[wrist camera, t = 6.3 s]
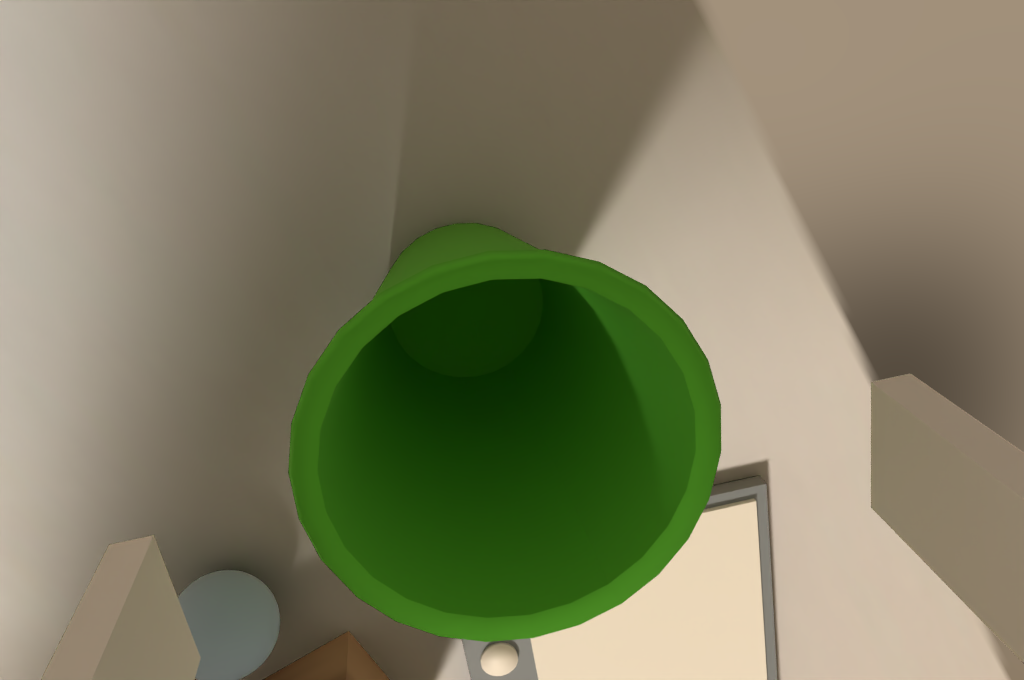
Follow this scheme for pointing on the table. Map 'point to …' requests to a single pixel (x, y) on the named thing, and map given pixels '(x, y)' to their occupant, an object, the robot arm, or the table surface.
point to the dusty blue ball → (230, 623)
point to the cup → (503, 439)
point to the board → (670, 612)
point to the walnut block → (333, 663)
